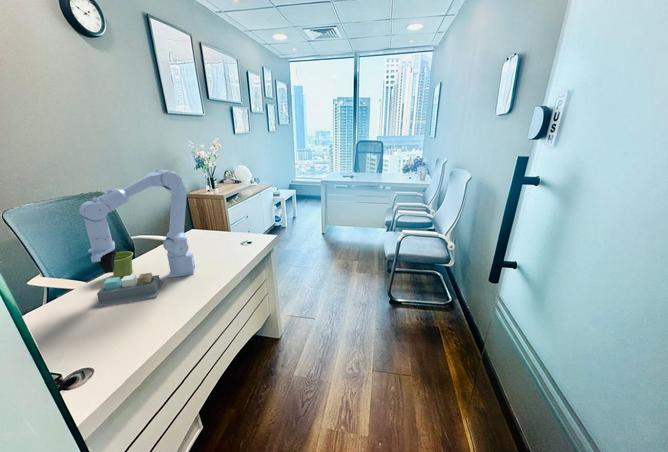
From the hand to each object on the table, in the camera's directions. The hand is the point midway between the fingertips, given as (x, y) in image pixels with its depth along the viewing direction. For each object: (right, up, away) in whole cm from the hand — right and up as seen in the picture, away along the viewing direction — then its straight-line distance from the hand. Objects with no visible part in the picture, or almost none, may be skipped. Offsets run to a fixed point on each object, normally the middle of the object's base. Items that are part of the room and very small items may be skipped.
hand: (109, 272), depth 94 cm
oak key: (+9, -5, +6) cm, 12 cm away
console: (+4, -9, +5) cm, 11 cm away
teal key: (0, -6, +2) cm, 7 cm away
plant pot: (-9, -4, +18) cm, 21 cm away
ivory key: (+4, -6, +4) cm, 8 cm away
